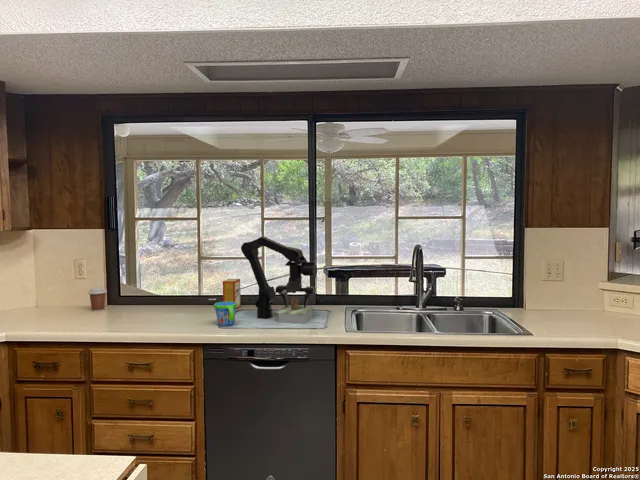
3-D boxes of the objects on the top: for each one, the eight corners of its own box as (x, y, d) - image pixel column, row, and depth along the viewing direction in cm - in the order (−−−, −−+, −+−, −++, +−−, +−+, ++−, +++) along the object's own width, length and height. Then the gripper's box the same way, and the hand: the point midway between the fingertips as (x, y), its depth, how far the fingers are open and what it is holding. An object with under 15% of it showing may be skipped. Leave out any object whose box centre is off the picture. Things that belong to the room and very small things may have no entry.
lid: (275, 313, 221) (275, 300, 221) (286, 306, 235) (286, 295, 235) (304, 314, 217) (304, 302, 217) (313, 308, 231) (313, 296, 231)
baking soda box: (234, 310, 251) (234, 280, 250) (223, 309, 252) (222, 280, 251) (240, 306, 260) (240, 278, 259) (229, 306, 261) (228, 277, 260)
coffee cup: (95, 308, 258) (94, 286, 258) (110, 308, 257) (110, 287, 256) (85, 311, 249) (84, 289, 249) (100, 312, 248) (100, 289, 247)
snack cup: (211, 322, 225) (210, 301, 224) (232, 319, 229) (232, 299, 229) (219, 329, 211) (218, 307, 210) (241, 327, 215) (241, 305, 215)
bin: (278, 323, 221) (278, 313, 221) (287, 317, 234) (287, 307, 234) (305, 325, 218) (304, 314, 218) (312, 318, 231) (312, 308, 230)
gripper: (271, 276, 219) (271, 309, 220) (309, 278, 214) (309, 311, 215) (279, 273, 230) (279, 305, 231) (315, 274, 225) (316, 306, 226)
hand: (295, 307), depth 226 cm, fingers open, 9 cm apart
